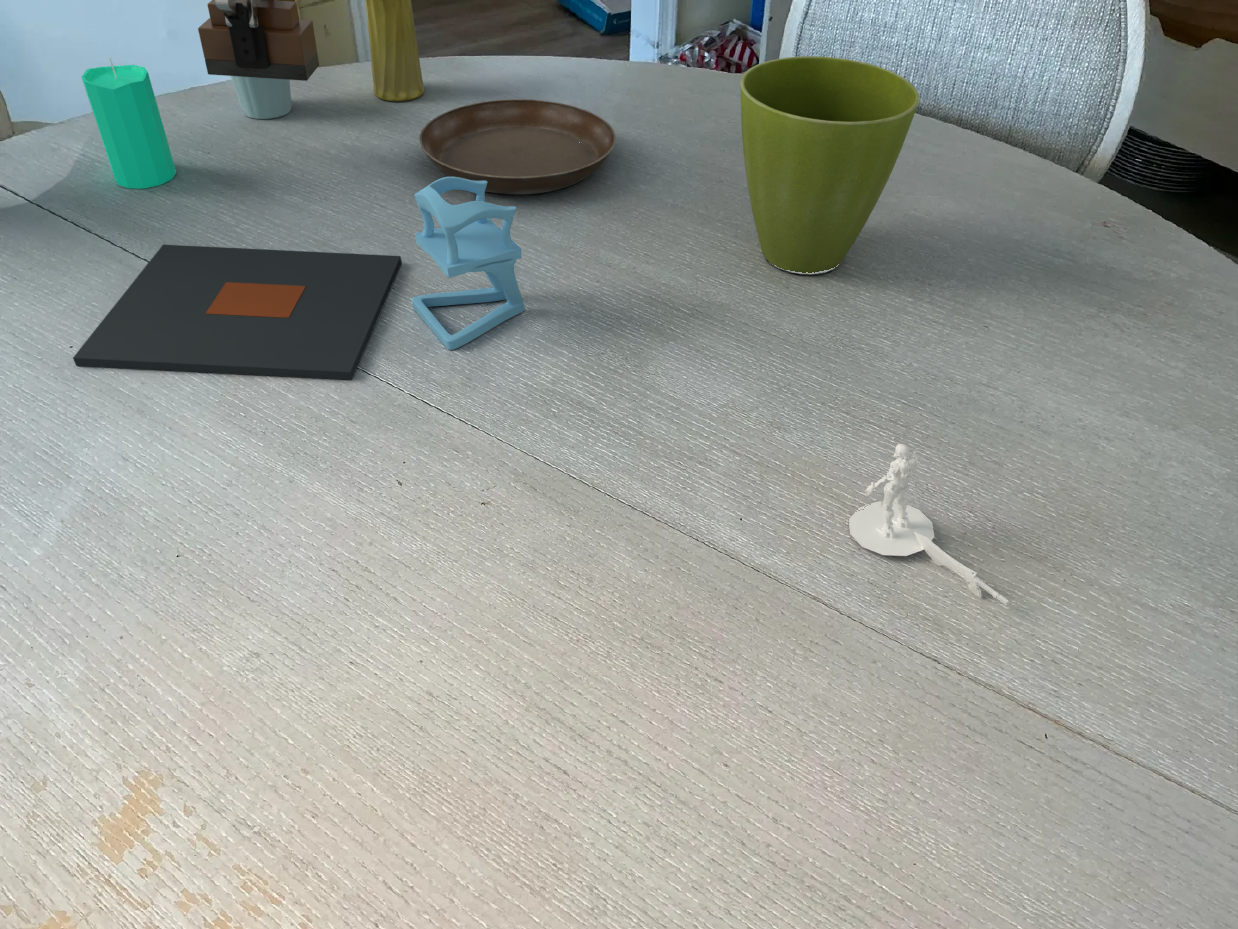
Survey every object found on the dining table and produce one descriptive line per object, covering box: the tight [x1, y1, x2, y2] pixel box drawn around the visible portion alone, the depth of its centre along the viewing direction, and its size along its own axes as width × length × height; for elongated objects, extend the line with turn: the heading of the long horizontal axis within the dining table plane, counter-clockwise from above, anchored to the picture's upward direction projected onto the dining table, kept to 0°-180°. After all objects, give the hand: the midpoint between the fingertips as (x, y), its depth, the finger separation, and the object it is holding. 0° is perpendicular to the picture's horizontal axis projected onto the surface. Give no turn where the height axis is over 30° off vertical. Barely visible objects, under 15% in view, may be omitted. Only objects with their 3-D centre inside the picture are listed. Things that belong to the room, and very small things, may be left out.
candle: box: [81, 57, 177, 190], centre depth 101 cm, size 6×6×12 cm
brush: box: [197, 0, 320, 82], centre depth 100 cm, size 10×4×6 cm, turn 87°
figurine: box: [848, 443, 1010, 607], centre depth 64 cm, size 6×12×8 cm, turn 38°
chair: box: [411, 176, 526, 351], centre depth 82 cm, size 8×8×12 cm
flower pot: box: [739, 55, 920, 273], centre depth 90 cm, size 15×15×16 cm
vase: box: [364, 0, 426, 103], centre depth 118 cm, size 6×6×14 cm
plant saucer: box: [418, 98, 617, 195], centre depth 108 cm, size 21×21×3 cm
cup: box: [230, 76, 293, 120], centre depth 115 cm, size 8×8×10 cm
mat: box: [72, 244, 402, 381], centre depth 86 cm, size 22×18×1 cm
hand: (261, 56), depth 102 cm, fingers closed on brush, 4 cm apart
